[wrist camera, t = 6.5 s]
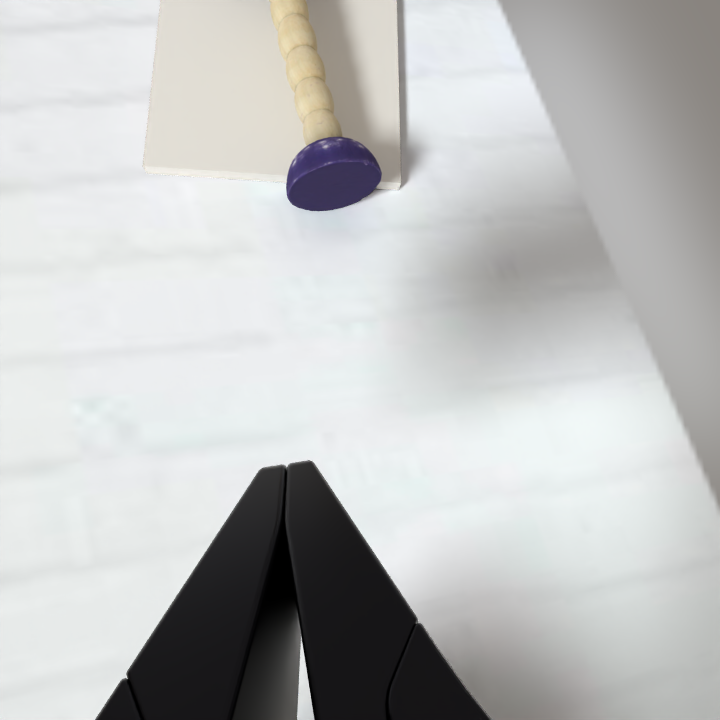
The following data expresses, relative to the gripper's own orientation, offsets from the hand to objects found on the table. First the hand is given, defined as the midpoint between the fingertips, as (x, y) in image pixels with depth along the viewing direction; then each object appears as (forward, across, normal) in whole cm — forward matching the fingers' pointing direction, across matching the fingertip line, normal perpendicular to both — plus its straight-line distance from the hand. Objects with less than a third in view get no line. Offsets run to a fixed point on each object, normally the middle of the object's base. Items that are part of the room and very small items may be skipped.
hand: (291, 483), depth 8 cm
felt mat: (+23, -1, -8) cm, 25 cm away
